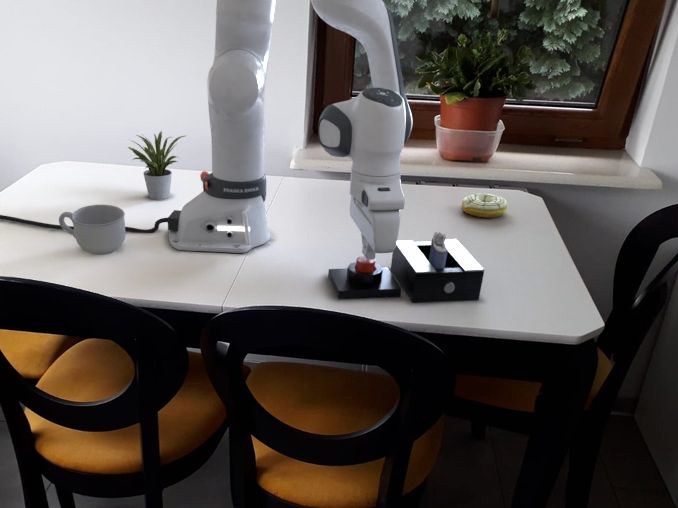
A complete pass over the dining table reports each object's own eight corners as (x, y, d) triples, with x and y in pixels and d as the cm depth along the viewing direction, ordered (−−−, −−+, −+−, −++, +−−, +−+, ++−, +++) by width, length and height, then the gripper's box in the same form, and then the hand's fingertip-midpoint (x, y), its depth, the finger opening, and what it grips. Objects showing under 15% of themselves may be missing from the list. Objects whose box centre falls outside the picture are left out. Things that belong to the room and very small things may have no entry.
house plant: (176, 183, 189) (173, 121, 181) (199, 198, 179) (197, 133, 171) (126, 191, 182) (120, 127, 174) (147, 207, 172) (142, 140, 164)
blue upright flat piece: (441, 295, 134) (449, 242, 129) (425, 294, 134) (433, 241, 129) (438, 275, 142) (446, 224, 136) (424, 274, 142) (431, 223, 137)
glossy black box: (413, 304, 130) (417, 273, 127) (390, 269, 144) (393, 240, 140) (487, 302, 132) (493, 271, 129) (458, 267, 145) (462, 238, 142)
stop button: (357, 274, 133) (358, 263, 132) (353, 266, 136) (354, 256, 135) (376, 273, 133) (377, 263, 132) (371, 265, 136) (372, 255, 135)
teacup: (136, 243, 153) (133, 208, 148) (110, 262, 144) (106, 225, 140) (80, 234, 156) (76, 199, 152) (52, 252, 147) (46, 215, 143)
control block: (338, 299, 131) (339, 280, 129) (328, 277, 140) (329, 258, 138) (400, 297, 133) (402, 278, 131) (386, 275, 141) (388, 256, 139)
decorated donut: (463, 203, 181) (465, 188, 179) (506, 208, 178) (509, 194, 176) (458, 216, 172) (461, 201, 170) (504, 221, 169) (507, 206, 167)
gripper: (344, 169, 135) (340, 237, 142) (371, 204, 117) (365, 280, 124) (376, 168, 135) (370, 235, 143) (408, 203, 118) (399, 278, 125)
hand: (368, 256), depth 133 cm, fingers closed
